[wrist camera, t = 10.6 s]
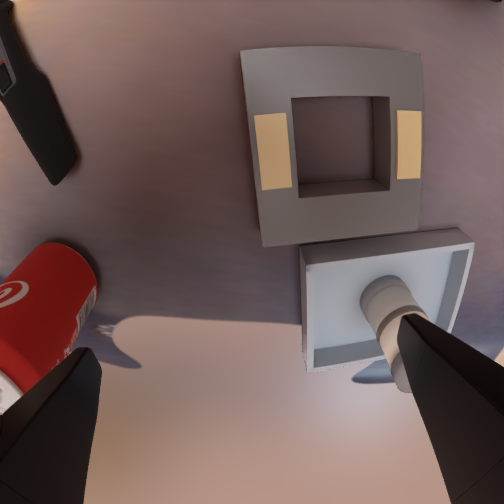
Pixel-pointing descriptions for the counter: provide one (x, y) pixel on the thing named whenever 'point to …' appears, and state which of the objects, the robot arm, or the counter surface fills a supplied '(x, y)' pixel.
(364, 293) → the cylinder
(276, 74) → the fuse block
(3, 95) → the electric trimmer
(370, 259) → the parts tray
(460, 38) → the counter surface
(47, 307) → the beverage can
